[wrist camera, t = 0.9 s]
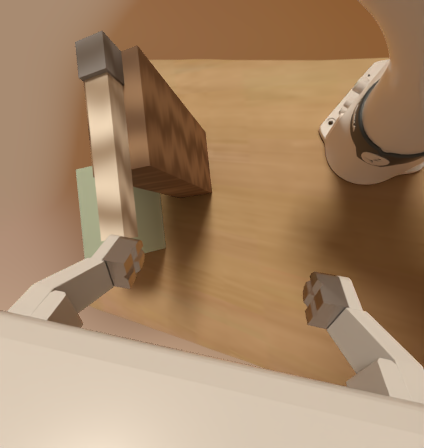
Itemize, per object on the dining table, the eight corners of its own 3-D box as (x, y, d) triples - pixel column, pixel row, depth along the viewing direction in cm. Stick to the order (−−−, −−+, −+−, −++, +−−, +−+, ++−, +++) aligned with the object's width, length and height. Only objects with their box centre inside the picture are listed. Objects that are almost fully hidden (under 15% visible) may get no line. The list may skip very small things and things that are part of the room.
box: (165, 248, 54) (122, 258, 38) (137, 250, 56) (85, 261, 41) (158, 178, 54) (112, 161, 39) (130, 183, 56) (75, 169, 41)
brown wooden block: (212, 192, 50) (149, 165, 25) (179, 197, 53) (93, 177, 28) (205, 132, 51) (137, 45, 26) (173, 139, 53) (82, 66, 28)
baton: (140, 236, 26) (123, 238, 23) (114, 239, 27) (95, 241, 24) (121, 51, 26) (102, 30, 23) (96, 61, 27) (75, 42, 24)
